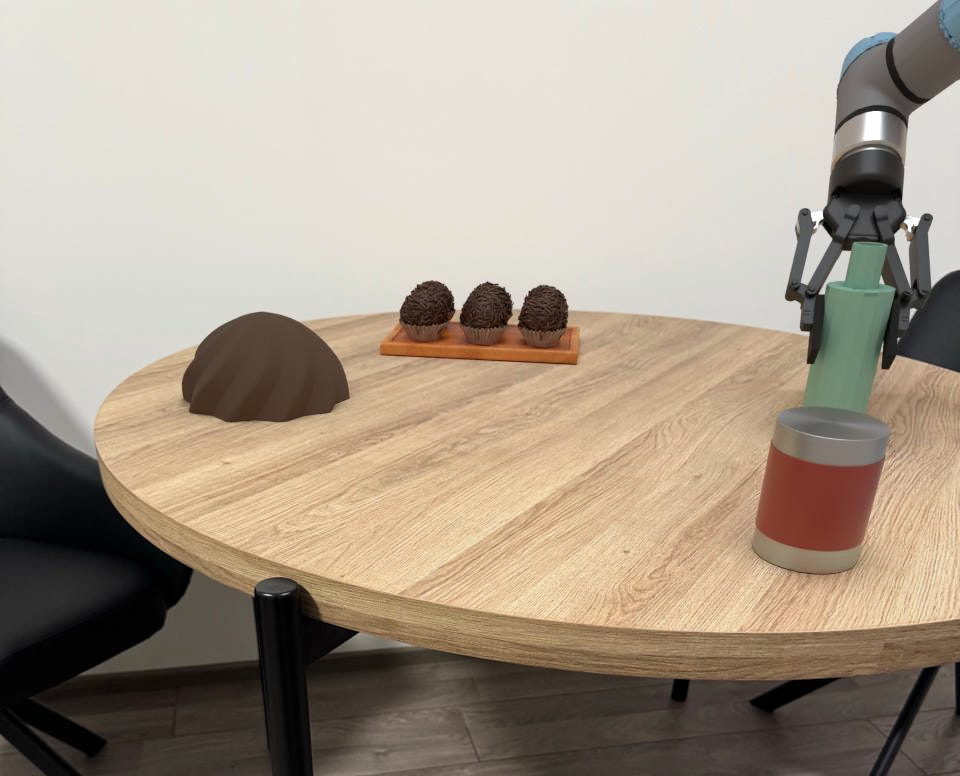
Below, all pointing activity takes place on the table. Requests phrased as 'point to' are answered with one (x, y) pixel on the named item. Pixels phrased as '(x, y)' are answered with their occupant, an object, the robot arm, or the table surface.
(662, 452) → the table surface
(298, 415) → the decorative dome
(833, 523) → the can
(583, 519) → the table surface
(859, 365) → the bottle
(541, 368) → the table surface
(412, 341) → the chocolate truffle
